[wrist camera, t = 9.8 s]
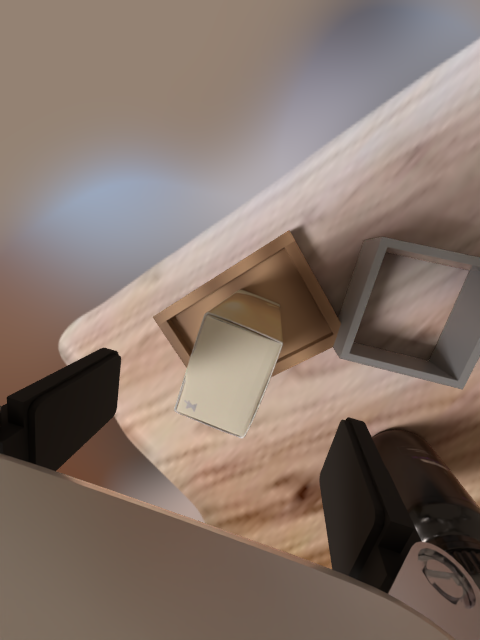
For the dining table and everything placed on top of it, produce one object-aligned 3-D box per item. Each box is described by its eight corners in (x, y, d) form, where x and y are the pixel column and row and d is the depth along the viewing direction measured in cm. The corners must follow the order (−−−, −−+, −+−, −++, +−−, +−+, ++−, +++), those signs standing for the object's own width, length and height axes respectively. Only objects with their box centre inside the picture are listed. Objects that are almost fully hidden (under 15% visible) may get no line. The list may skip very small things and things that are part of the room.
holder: (480, 265, 21) (524, 266, 18) (433, 368, 24) (462, 389, 20) (363, 240, 22) (382, 236, 18) (329, 342, 25) (339, 358, 21)
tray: (288, 231, 23) (289, 230, 22) (345, 334, 24) (349, 338, 23) (159, 314, 27) (152, 317, 25) (215, 398, 28) (212, 405, 27)
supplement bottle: (429, 424, 25) (557, 564, 14) (431, 481, 27) (549, 651, 15) (356, 429, 26) (417, 561, 15) (362, 483, 28) (422, 642, 16)
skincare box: (258, 360, 26) (243, 446, 14) (218, 344, 26) (169, 417, 14) (282, 301, 24) (287, 343, 12) (239, 284, 24) (203, 311, 12)
